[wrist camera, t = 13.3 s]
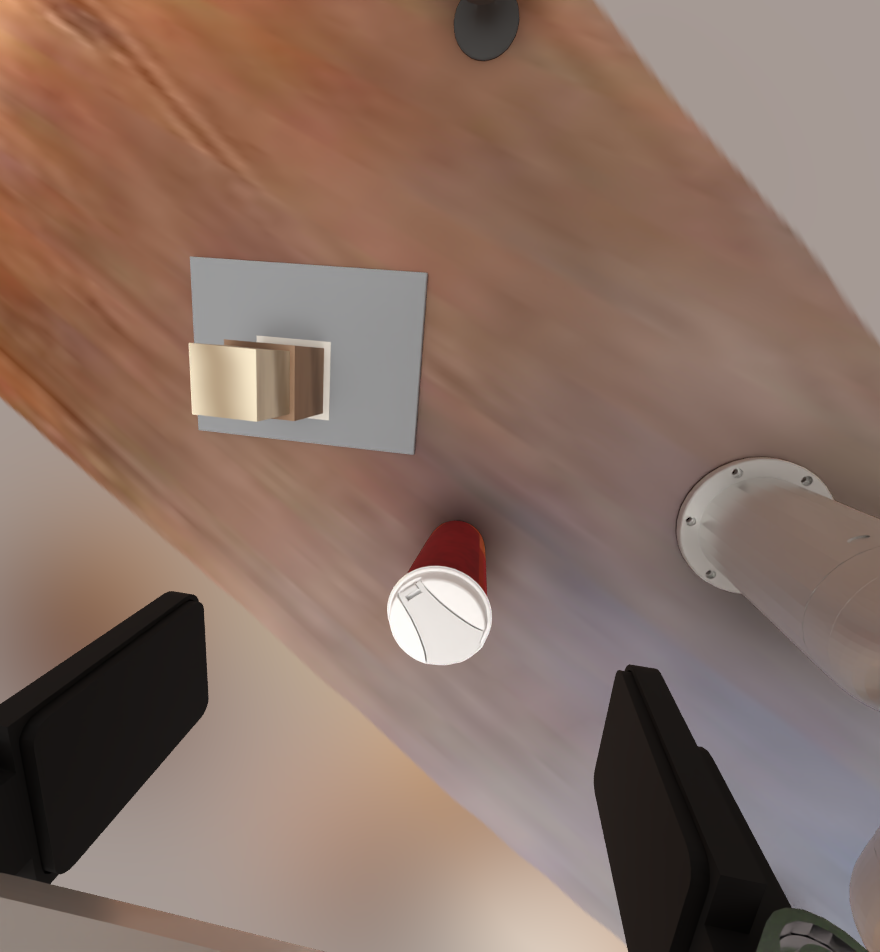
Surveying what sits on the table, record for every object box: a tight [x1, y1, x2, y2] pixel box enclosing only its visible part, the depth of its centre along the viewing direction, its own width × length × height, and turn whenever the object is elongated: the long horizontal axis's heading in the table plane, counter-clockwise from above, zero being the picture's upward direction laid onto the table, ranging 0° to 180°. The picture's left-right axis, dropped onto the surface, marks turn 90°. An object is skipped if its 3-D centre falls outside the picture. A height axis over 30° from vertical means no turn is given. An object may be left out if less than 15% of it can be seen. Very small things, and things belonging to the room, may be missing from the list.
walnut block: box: [224, 339, 324, 421], centre depth 39 cm, size 6×6×6 cm
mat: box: [190, 257, 428, 455], centre depth 42 cm, size 22×16×1 cm
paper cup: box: [387, 521, 492, 665], centre depth 38 cm, size 8×8×14 cm
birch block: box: [189, 343, 290, 422], centre depth 34 cm, size 5×5×5 cm
